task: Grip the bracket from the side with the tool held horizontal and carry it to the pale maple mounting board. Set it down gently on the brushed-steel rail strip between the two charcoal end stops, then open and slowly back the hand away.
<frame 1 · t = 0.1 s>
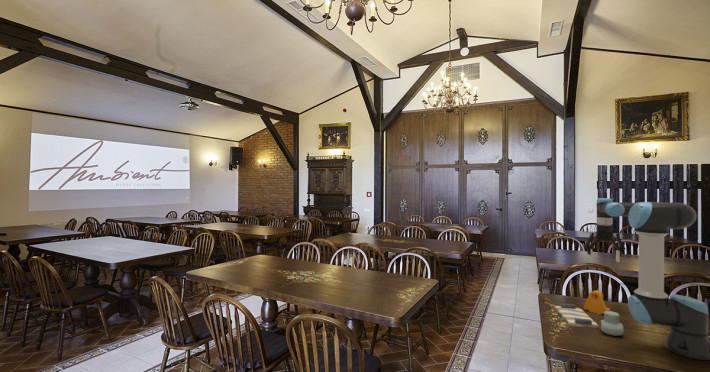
hand: (604, 261, 199), 28 cm above the table, tool pointing down, fingers open, 13 cm apart
air freshener: (611, 333, 166), on the table
bracket: (597, 312, 195), on the table
rail board: (575, 317, 186), on the table
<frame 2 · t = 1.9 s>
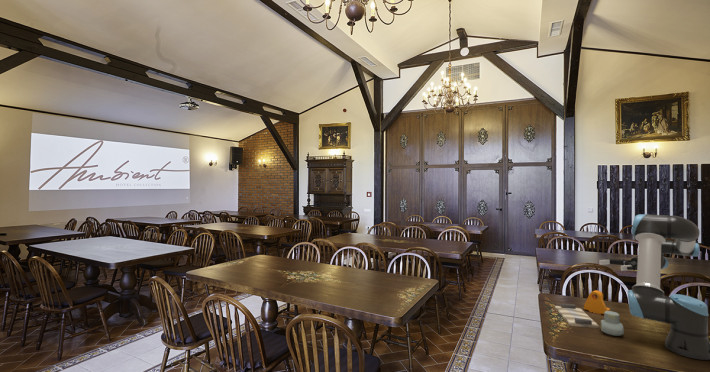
hand: (610, 265, 196), 26 cm above the table, tool horizontal, fingers open, 13 cm apart
nothing on the table moved.
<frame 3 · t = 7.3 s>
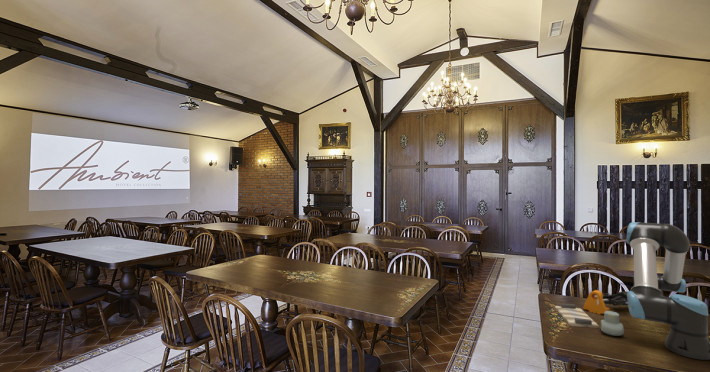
hand: (593, 300, 194), 7 cm above the table, tool horizontal, fingers closed on bracket, 5 cm apart
bracket: (596, 311, 195), on the table, touching gripper
everything else where it was.
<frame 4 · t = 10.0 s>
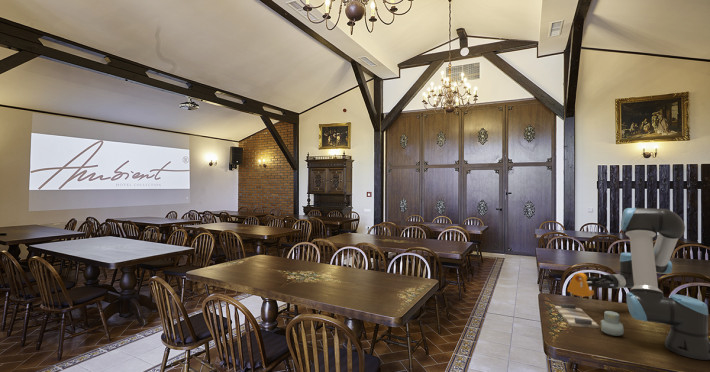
hand: (576, 282, 190), 18 cm above the table, tool horizontal, fingers closed on bracket, 5 cm apart
bracket: (580, 294, 190), point 11 cm above the table, touching gripper
everything else where it was.
when the fingers open (9 cm above the table, at t = 12.8 s): bracket stays where it is, resting on rail board.
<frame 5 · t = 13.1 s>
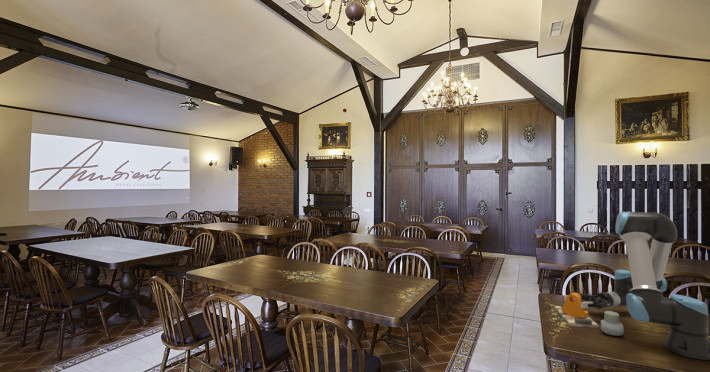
hand: (572, 301, 186), 9 cm above the table, tool horizontal, fingers open, 11 cm apart
bracket: (575, 315, 186), point 1 cm above the table, touching rail board
everything else where it was.
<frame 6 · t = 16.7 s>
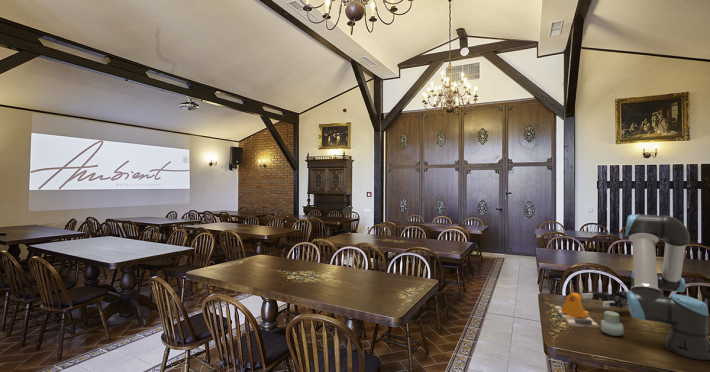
hand: (592, 300, 188), 9 cm above the table, tool horizontal, fingers open, 13 cm apart
nothing on the table moved.
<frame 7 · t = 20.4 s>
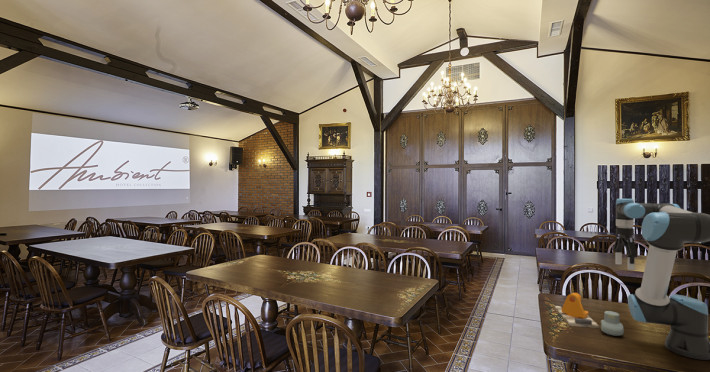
hand: (624, 267, 183), 28 cm above the table, tool pointing down, fingers open, 13 cm apart
nothing on the table moved.
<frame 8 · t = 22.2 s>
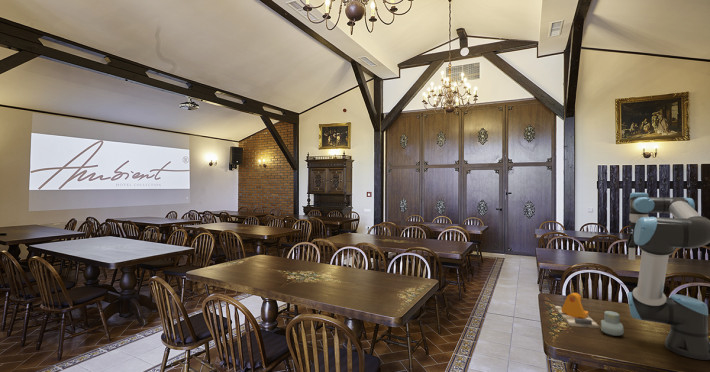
hand: (638, 262, 179), 32 cm above the table, tool pointing down, fingers open, 13 cm apart
nothing on the table moved.
at the end: bracket inside the target area on the rail board (0.1 cm from its centre), point 1.0 cm above the rail board's base; bracket tilted 0°; the gripper is holding nothing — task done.
